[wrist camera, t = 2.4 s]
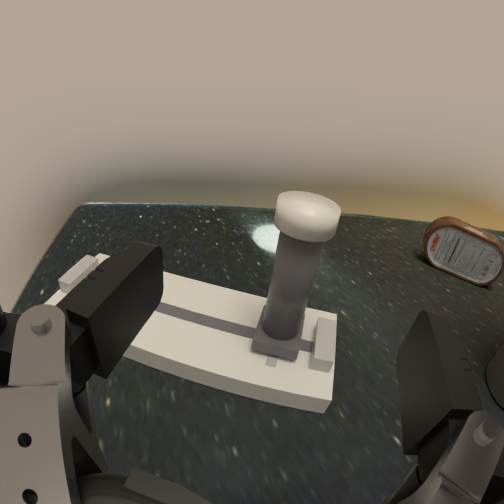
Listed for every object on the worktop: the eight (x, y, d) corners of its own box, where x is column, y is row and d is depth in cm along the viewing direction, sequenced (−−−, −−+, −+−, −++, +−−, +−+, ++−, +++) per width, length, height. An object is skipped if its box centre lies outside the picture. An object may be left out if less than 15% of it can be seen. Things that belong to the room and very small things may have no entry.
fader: (304, 323, 27) (340, 198, 21) (298, 360, 23) (341, 224, 17) (260, 312, 27) (283, 185, 21) (248, 348, 24) (272, 209, 18)
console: (331, 329, 30) (341, 303, 28) (323, 413, 22) (337, 390, 20) (101, 267, 34) (97, 242, 32) (48, 321, 25) (38, 294, 23)
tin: (490, 285, 41) (511, 242, 37) (492, 295, 39) (515, 250, 34) (416, 253, 47) (433, 207, 42) (415, 262, 44) (433, 213, 40)
